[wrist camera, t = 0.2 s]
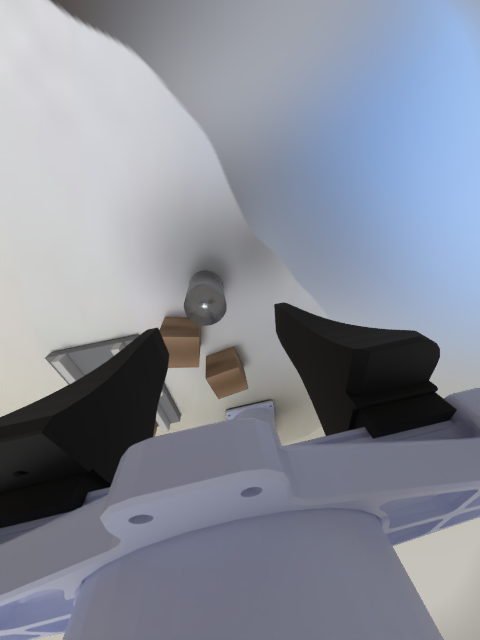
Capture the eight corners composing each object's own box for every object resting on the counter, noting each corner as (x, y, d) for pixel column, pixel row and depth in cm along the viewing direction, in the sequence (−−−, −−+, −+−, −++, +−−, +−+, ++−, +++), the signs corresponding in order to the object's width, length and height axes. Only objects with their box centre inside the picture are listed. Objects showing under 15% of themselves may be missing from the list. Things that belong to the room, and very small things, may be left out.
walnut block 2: (243, 366, 27) (248, 388, 24) (217, 375, 27) (218, 399, 24) (233, 345, 25) (238, 367, 22) (206, 356, 25) (205, 378, 22)
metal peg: (225, 299, 22) (229, 320, 17) (194, 305, 22) (190, 328, 17) (219, 268, 20) (221, 283, 16) (184, 274, 20) (178, 292, 15)
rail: (180, 415, 30) (179, 428, 29) (117, 429, 30) (111, 444, 28) (138, 334, 22) (132, 345, 20) (51, 352, 22) (36, 365, 20)
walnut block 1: (200, 345, 24) (198, 367, 21) (167, 345, 24) (160, 367, 20) (200, 318, 23) (199, 337, 19) (164, 317, 22) (156, 336, 18)
